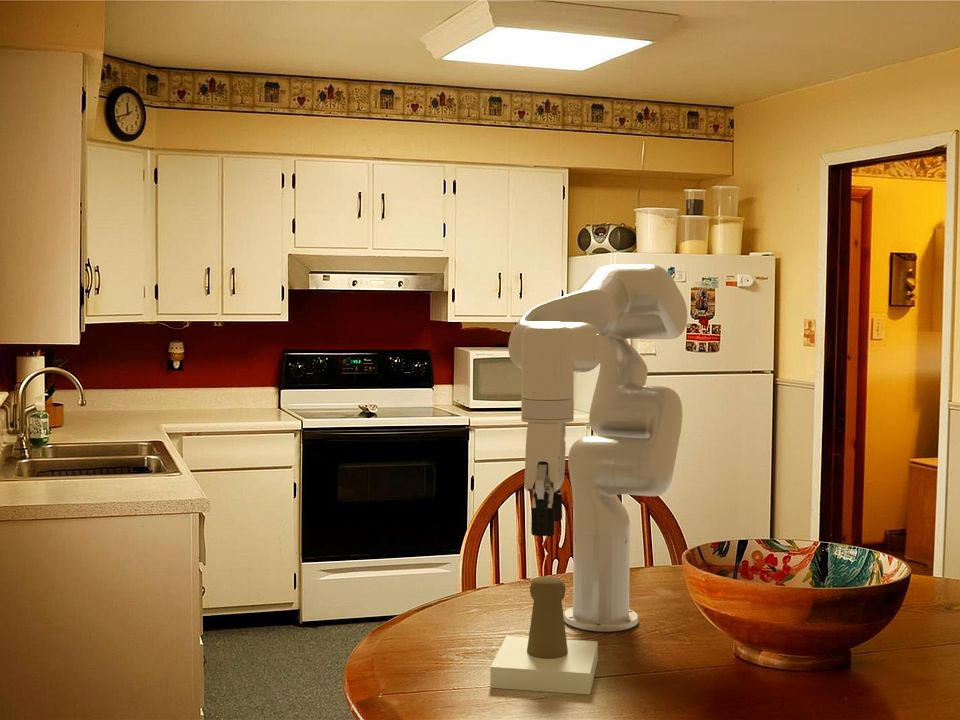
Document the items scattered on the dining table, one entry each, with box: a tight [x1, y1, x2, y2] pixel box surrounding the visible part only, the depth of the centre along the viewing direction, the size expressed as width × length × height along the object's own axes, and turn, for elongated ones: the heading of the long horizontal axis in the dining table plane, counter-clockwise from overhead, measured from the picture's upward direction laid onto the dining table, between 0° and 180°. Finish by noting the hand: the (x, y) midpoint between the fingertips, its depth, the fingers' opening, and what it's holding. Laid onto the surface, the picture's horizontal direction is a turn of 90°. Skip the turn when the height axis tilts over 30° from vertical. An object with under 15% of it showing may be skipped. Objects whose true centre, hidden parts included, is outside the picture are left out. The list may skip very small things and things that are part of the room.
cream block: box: [489, 635, 599, 695], centre depth 156 cm, size 14×14×3 cm
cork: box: [527, 575, 568, 659], centre depth 156 cm, size 6×6×11 cm
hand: (547, 527), depth 155 cm, fingers open, 9 cm apart
